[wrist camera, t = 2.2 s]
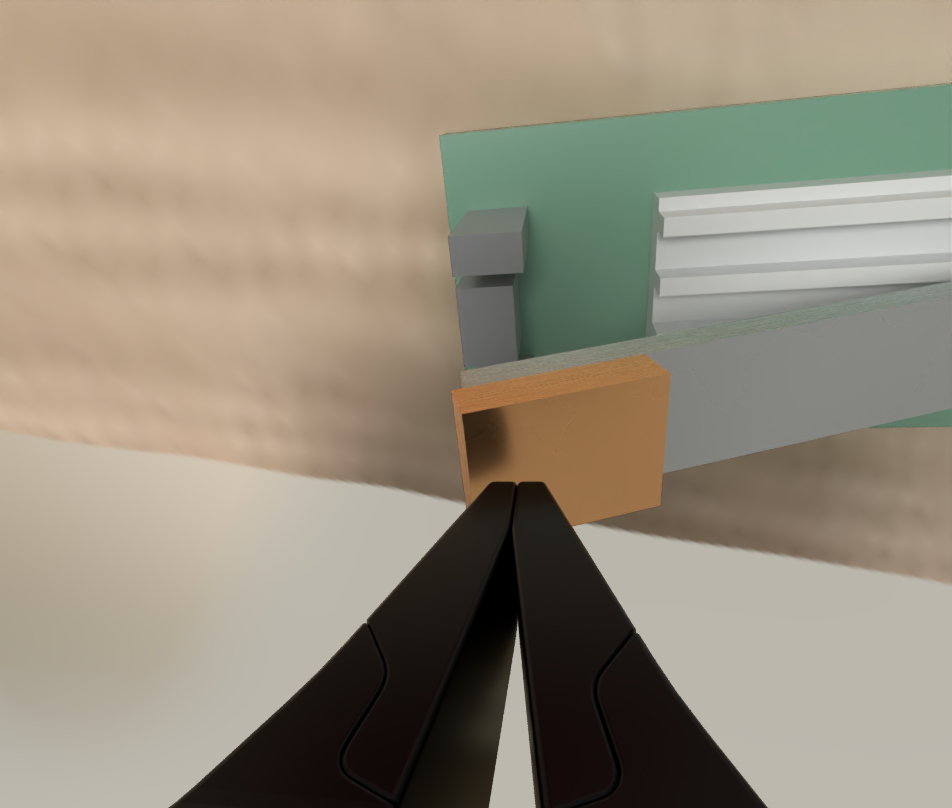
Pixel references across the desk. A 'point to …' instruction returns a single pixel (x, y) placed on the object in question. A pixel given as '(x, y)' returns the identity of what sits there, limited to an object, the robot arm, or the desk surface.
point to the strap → (700, 398)
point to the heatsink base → (695, 218)
